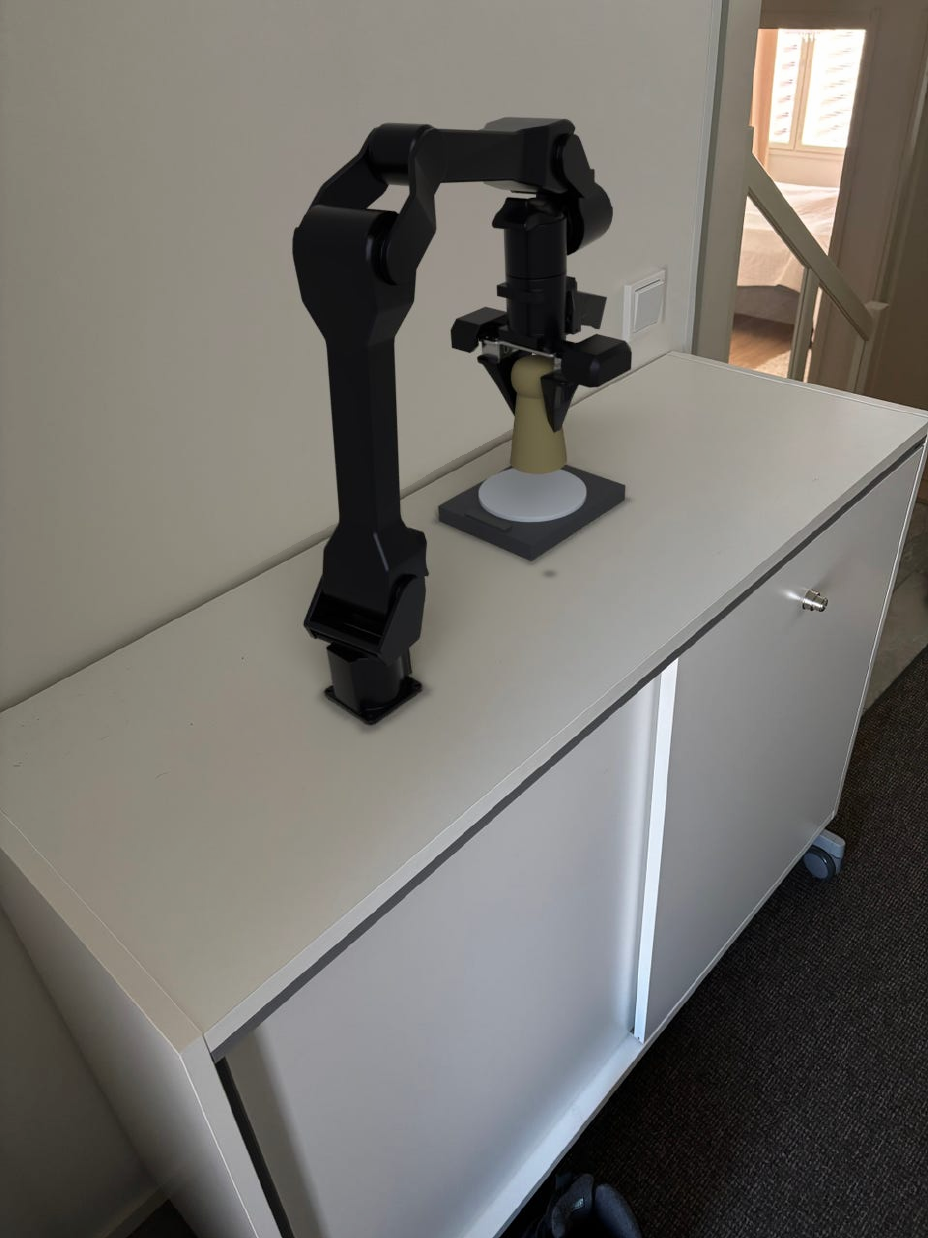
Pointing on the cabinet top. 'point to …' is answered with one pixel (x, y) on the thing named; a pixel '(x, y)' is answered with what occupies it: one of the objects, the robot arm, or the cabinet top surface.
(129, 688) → the cabinet top surface
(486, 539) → the scale
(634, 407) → the cabinet top surface
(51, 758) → the cabinet top surface
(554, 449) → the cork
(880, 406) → the cabinet top surface
